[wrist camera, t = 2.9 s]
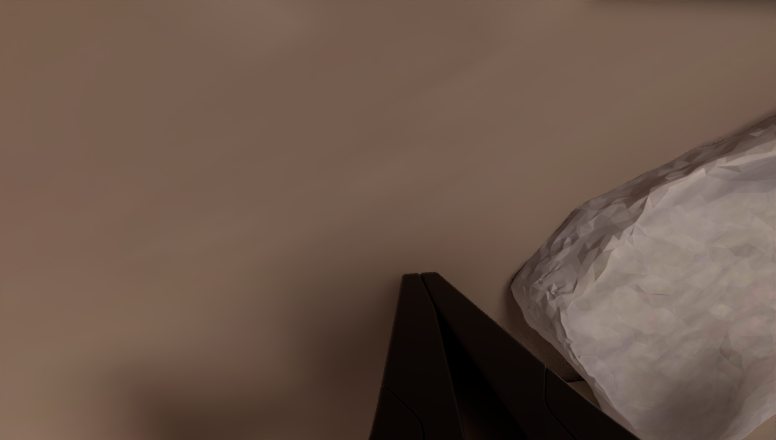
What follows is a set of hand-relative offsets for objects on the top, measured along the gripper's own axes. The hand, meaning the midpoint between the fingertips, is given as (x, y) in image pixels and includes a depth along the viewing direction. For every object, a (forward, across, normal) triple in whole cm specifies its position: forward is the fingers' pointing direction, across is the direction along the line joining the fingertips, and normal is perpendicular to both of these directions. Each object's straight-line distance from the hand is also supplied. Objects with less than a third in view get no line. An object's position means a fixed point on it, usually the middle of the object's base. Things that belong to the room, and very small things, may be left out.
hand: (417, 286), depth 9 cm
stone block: (+2, -10, 0) cm, 10 cm away
